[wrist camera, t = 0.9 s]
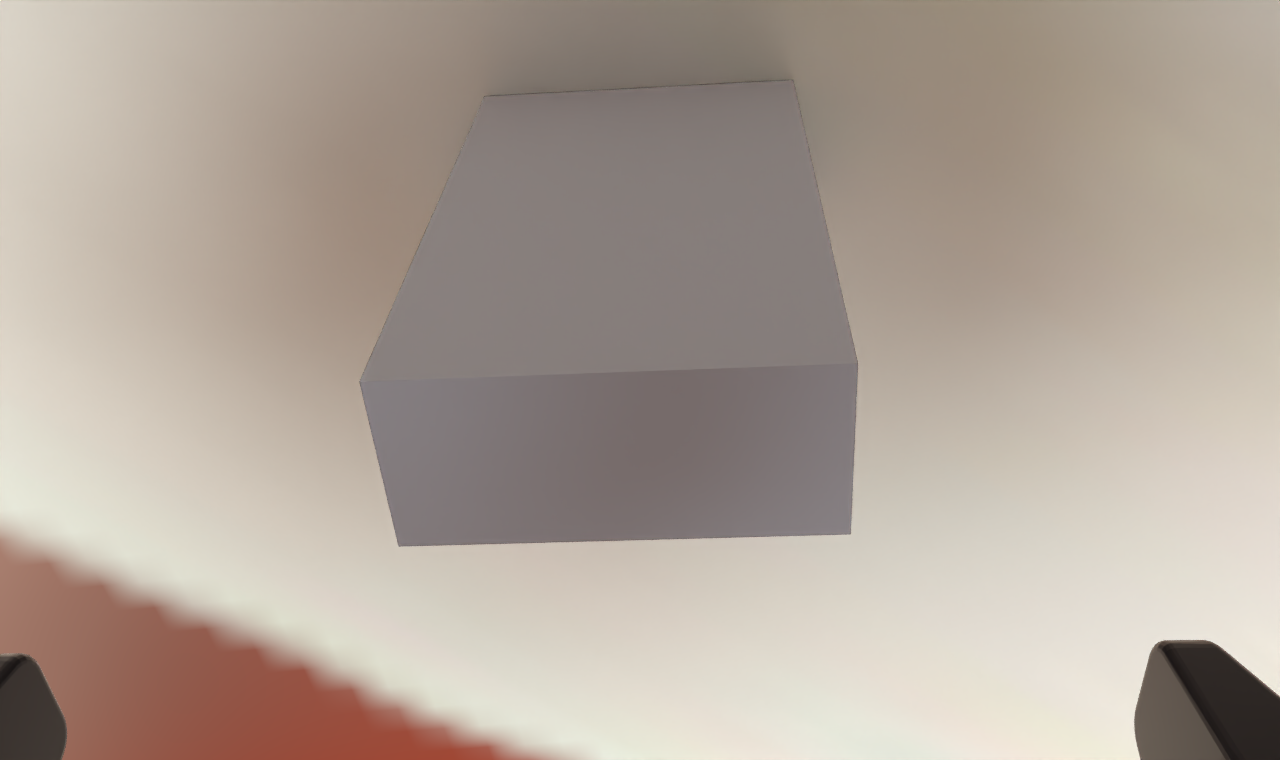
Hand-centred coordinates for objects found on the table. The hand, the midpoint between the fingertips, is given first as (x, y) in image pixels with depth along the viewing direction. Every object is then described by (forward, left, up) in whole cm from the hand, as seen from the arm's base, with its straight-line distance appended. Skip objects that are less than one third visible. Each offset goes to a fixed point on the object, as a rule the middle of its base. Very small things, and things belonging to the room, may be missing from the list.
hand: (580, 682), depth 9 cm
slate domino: (0, 0, -12) cm, 12 cm away
